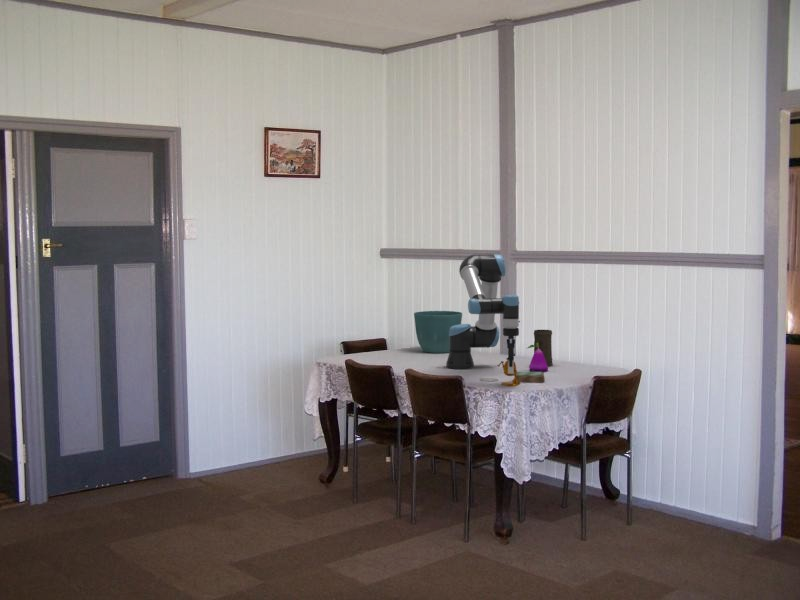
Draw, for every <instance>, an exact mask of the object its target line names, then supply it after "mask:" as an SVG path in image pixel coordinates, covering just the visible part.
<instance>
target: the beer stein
mask: <svg viewBox="0 0 800 600" xmlns="http://www.w3.org/2000/svg"><path fill="white" fill-rule="evenodd" d="M552 335H553V331H552V330H551V329H534V331H533V338H534V342H533V345H535V346H537V345H536V343H538V345H539V349H540V350H541V351H542V353H543V355H544V358H545V361H546V363H547V366H548V368H549V367H553V366H554V363H553V355H552V352H553V351H552V349H553V347H552ZM537 349H538V348H537V347H533V353H534V352H535V351H536V350H537Z"/></svg>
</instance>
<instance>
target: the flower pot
mask: <svg viewBox="0 0 800 600" xmlns="http://www.w3.org/2000/svg"><path fill="white" fill-rule="evenodd" d="M413 316H414V317H413V318H414V325H415V334H416V338H417V342H418V345H419V346H420V348H421V349H422V351H423V352H424V353H431V354H445V353H449V331H450V328H451V327H452V326H454V325H459V324H462V321H463V312H461V311H453V310H423V311H416V312H413Z"/></svg>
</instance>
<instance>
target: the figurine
mask: <svg viewBox="0 0 800 600" xmlns="http://www.w3.org/2000/svg"><path fill="white" fill-rule="evenodd" d="M500 365H502V370H503V374H504V375H505V376H507V377H514V378H513V380H511V381H503V382H502V383H501V385H503V386H507V387H516V386H519V385H520V384H521V382H519V381H517V375H516V372H518V370H517V365H516V362H515V361H514V374H508V360H507V359H506V361H505V362H504V361H500V363H499V364H497V367H500Z"/></svg>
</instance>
